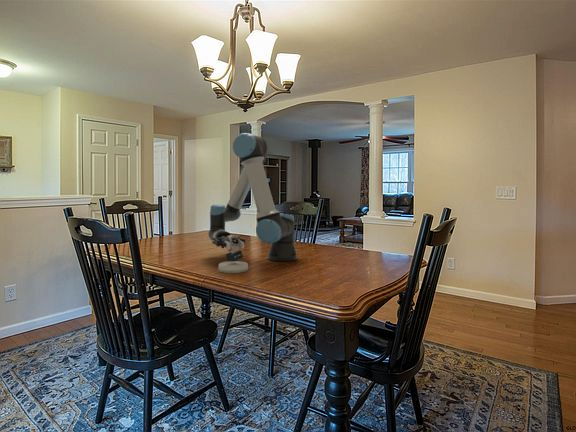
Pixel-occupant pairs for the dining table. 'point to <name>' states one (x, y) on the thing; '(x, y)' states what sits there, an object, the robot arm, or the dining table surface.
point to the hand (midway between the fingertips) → (236, 245)
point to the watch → (236, 244)
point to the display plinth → (233, 267)
